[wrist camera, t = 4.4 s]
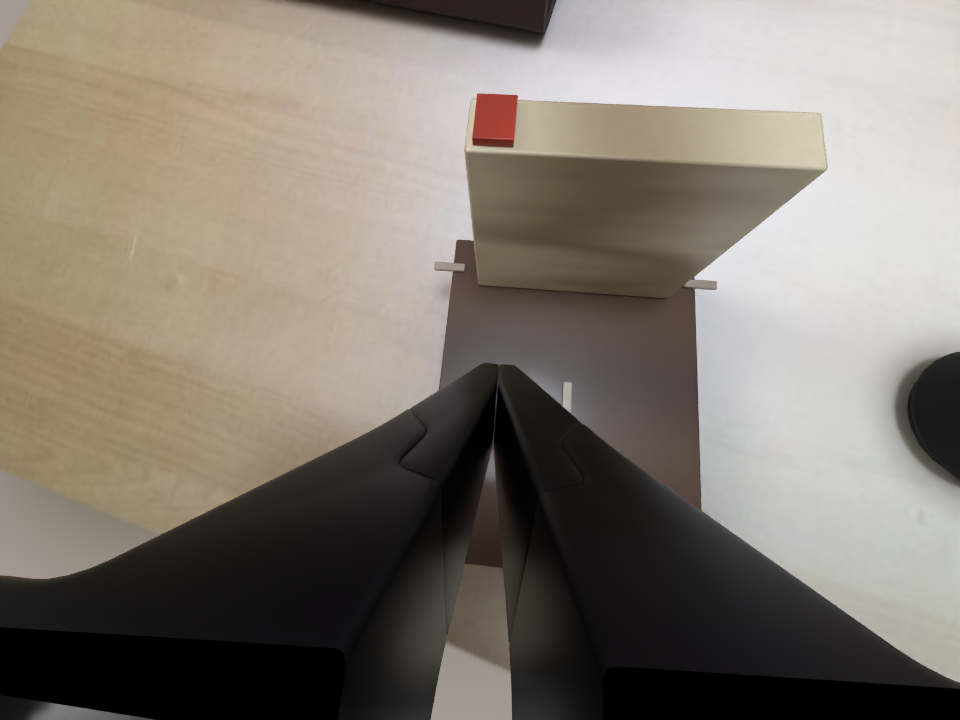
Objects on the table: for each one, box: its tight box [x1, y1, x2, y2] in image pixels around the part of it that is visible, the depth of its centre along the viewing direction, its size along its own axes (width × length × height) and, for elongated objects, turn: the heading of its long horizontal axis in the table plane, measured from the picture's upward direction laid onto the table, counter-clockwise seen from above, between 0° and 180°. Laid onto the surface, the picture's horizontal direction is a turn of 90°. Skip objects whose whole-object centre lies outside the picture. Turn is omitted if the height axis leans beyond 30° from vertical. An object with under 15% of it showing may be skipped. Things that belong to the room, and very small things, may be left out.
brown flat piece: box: [434, 240, 717, 568], centre depth 17 cm, size 19×13×3 cm
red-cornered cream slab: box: [464, 94, 827, 298], centre depth 13 cm, size 8×2×8 cm, turn 85°
